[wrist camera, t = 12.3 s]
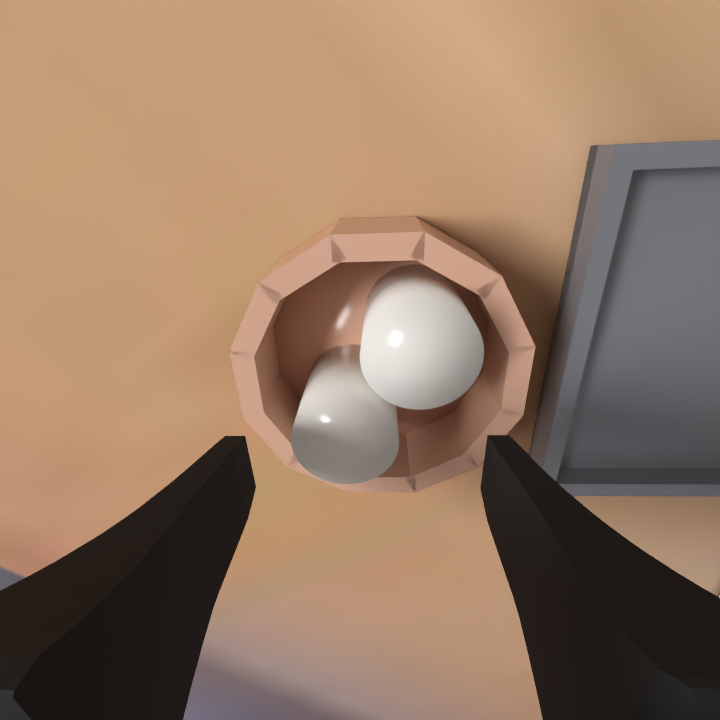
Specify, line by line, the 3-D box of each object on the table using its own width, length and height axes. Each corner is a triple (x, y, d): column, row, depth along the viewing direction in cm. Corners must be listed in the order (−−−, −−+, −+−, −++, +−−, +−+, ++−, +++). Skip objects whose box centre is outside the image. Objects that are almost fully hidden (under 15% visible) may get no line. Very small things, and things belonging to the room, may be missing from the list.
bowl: (519, 212, 14) (557, 227, 11) (488, 439, 19) (509, 492, 16) (240, 222, 15) (205, 238, 12) (276, 440, 19) (258, 492, 16)
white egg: (466, 266, 14) (494, 302, 11) (452, 356, 16) (473, 412, 12) (367, 262, 14) (362, 295, 11) (363, 351, 16) (357, 406, 12)
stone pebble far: (394, 342, 16) (399, 396, 12) (395, 417, 17) (398, 484, 14) (305, 345, 16) (283, 398, 12) (313, 418, 18) (297, 484, 14)
